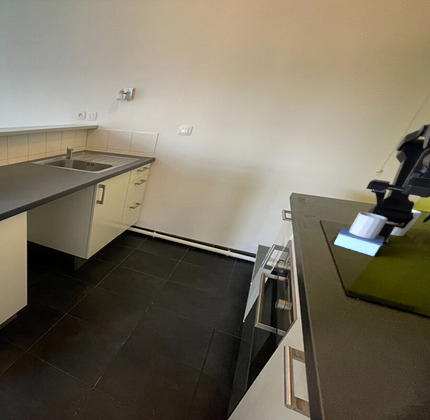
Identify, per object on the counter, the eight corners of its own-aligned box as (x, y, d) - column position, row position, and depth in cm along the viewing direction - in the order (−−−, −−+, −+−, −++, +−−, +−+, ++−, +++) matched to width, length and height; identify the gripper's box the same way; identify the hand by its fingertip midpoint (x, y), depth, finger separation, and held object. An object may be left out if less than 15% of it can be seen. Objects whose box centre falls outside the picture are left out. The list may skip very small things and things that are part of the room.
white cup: (412, 238, 92) (429, 214, 89) (387, 235, 94) (402, 211, 90) (390, 229, 100) (405, 206, 96) (367, 226, 101) (381, 204, 97)
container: (337, 237, 90) (343, 226, 88) (377, 249, 83) (384, 237, 81) (332, 243, 85) (339, 232, 83) (374, 256, 78) (382, 244, 76)
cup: (350, 229, 86) (360, 210, 83) (376, 236, 81) (388, 217, 79) (347, 233, 83) (357, 214, 80) (374, 240, 78) (386, 220, 76)
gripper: (378, 165, 75) (352, 211, 81) (494, 179, 61) (453, 234, 67) (381, 162, 81) (357, 206, 87) (487, 175, 67) (450, 226, 73)
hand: (399, 217), depth 78 cm, fingers open, 9 cm apart
